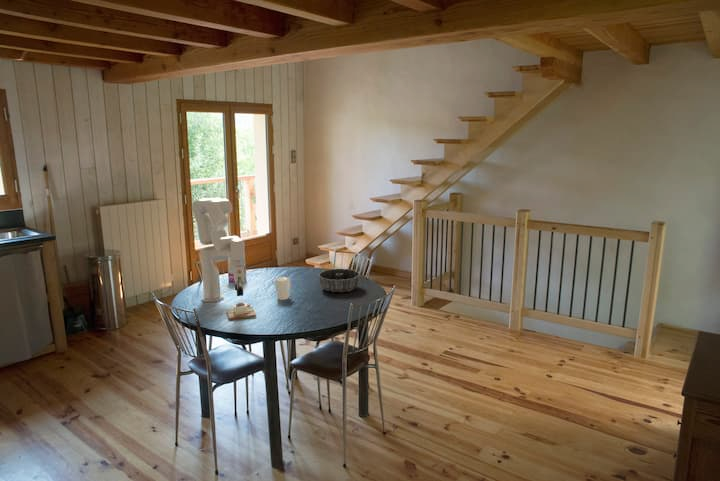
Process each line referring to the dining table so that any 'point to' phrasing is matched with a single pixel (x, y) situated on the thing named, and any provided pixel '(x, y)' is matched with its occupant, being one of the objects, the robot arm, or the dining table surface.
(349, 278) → the bundt pan
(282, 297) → the cup
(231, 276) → the candy bar box
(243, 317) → the shaft block
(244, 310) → the knob
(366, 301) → the dining table surface
